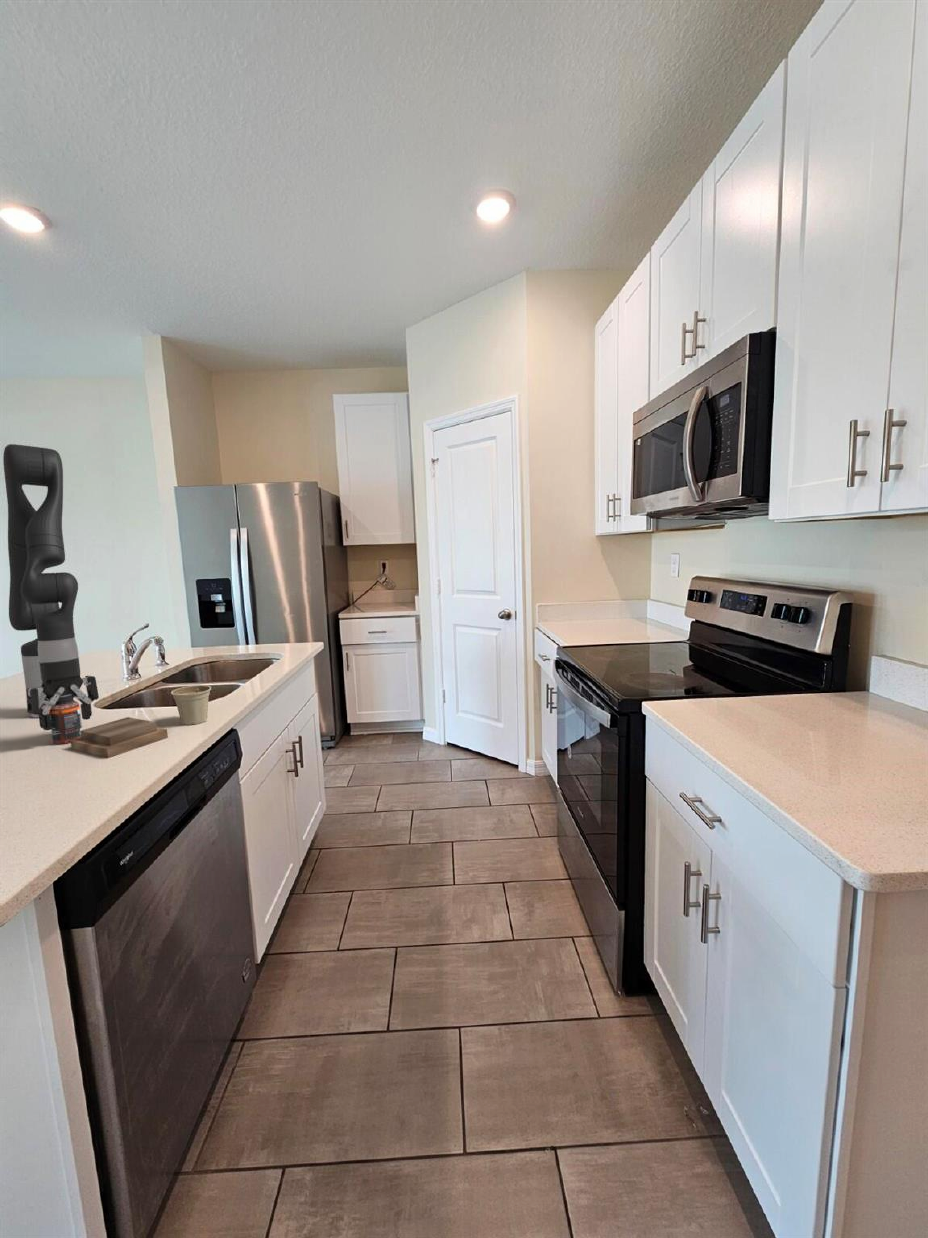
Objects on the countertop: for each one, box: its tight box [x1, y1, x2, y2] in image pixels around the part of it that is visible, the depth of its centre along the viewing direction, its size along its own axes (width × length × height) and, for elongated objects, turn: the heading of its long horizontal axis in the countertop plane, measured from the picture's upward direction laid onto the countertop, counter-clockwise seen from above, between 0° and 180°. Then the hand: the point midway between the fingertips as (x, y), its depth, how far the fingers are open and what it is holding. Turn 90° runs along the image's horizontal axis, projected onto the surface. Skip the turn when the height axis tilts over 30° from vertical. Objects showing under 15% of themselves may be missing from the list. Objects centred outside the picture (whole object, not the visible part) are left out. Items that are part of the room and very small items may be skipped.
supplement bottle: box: [49, 694, 83, 745], centre depth 129 cm, size 6×6×11 cm
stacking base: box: [70, 716, 169, 759], centre depth 127 cm, size 14×14×4 cm
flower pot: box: [170, 684, 212, 726], centre depth 142 cm, size 9×9×9 cm
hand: (67, 724), depth 129 cm, fingers open, 8 cm apart
